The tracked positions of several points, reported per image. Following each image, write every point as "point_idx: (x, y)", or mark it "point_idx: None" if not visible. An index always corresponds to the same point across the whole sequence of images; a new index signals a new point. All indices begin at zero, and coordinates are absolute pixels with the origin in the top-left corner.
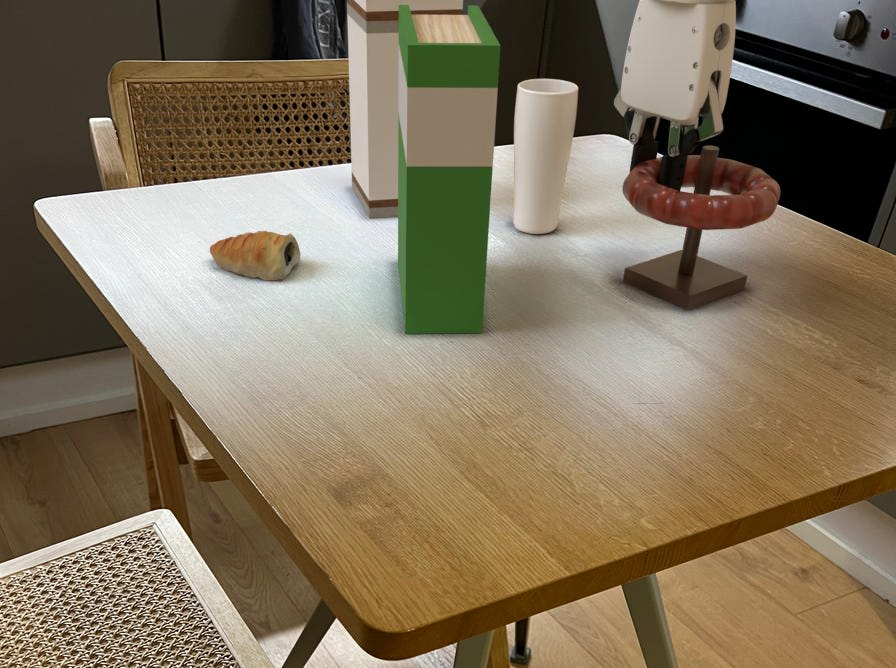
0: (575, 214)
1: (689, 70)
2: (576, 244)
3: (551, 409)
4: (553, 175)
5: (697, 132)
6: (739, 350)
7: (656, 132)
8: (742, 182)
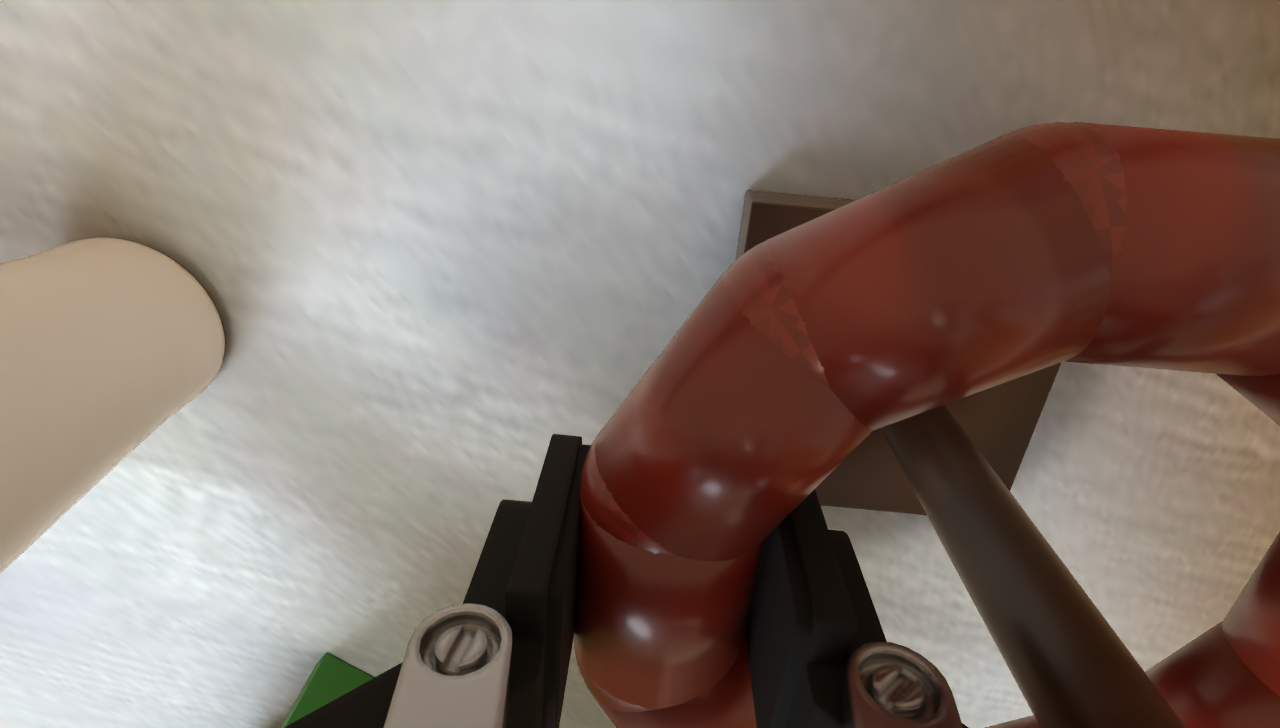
0: (52, 47)
1: None
2: (364, 327)
3: None
4: (72, 474)
5: None
6: (1206, 587)
7: (506, 663)
8: (1253, 393)
